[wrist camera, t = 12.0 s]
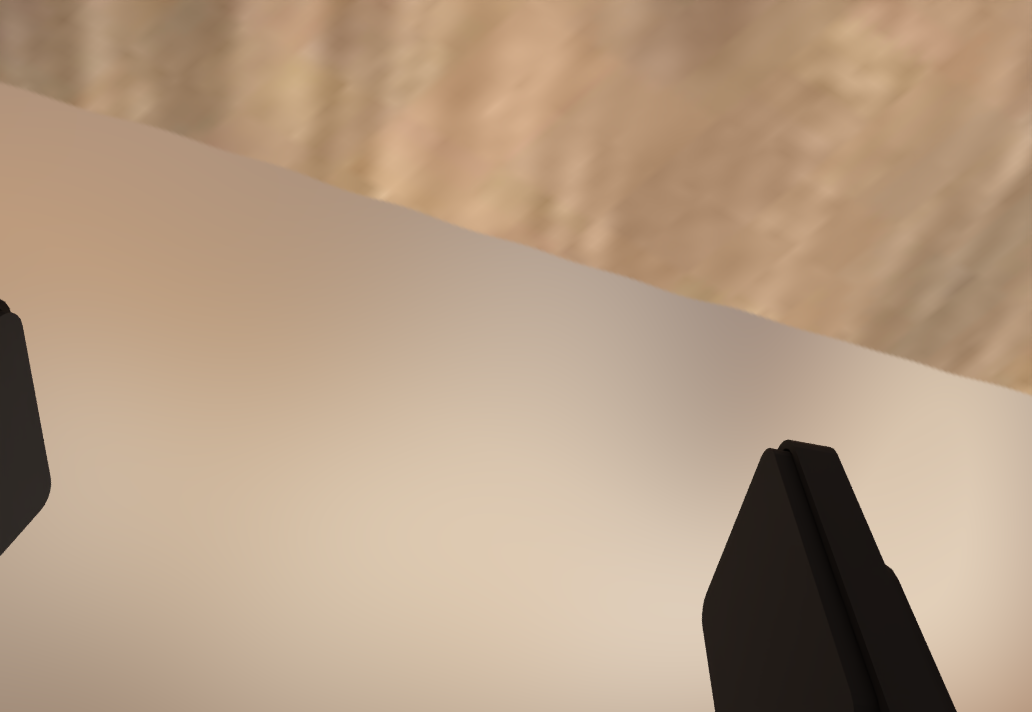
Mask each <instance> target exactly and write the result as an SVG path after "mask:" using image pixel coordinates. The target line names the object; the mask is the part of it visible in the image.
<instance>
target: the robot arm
mask: <svg viewBox="0 0 1032 712" xmlns="http://www.w3.org/2000/svg"><path fill="white" fill-rule="evenodd" d="M50 488H51V478H50V472H49V467H48V461H47V456H46V450H45V445H44V439H43V434H42V428H41V423H40V417H39V412H38V407H37V401H36V396H35V390H34V385H33V379H32V374H31V369H30V364H29V358H28V353H27V347H26V342H25V336H24V330H23V325H22V322H21V319H20V318H19V317H18V316H17V315H16V314H14V313H11V312H10V308H9V307H8V305H7V304H6V303H5V302H4V301H2V300H1V299H0V555H1V554H2V553H3V552H4V551H5V550H6V549H7V548H8V547H9V546H10V544H11V543H12V542H13V541H14V540H15V539H16V538H17V536H18V535H19V534H20V533H21V532H22V531H23V530H24V529H25V527H26V526H27V525H28V524H29V523H30V522H31V521H32V520H33V518H34V517H35V516H36V515H37V514H38V513H39V512H40V510H41V509H42V508H43V506H44V505H45V503H46V501H47V499H48V496H49V493H50ZM702 626H703V633H704V640H705V646H706V653H707V659H708V667H709V673H710V680H711V687H712V693H713V700H714V707H715V712H957V711H956V709H955V707H954V705H953V702H952V700H951V698H950V695H949V693H948V691H947V689H946V687H945V684H944V682H943V680H942V677H941V676H940V673H939V671H938V668H937V666H936V664H935V662H934V659H933V657H932V655H931V652H930V650H929V648H928V646H927V643H926V641H925V639H924V637H923V634H922V632H921V630H920V628H919V625H918V623H917V621H916V618H915V616H914V614H913V612H912V609H911V607H910V605H909V603H908V600H907V598H906V596H905V594H904V591H903V589H902V587H901V584H900V582H899V580H898V578H897V577H896V575H895V573H894V572H893V570H892V569H891V568H889V567H888V566H887V565H885V563H884V561H883V559H882V556H881V554H880V552H879V549H878V547H877V545H876V542H875V540H874V538H873V535H872V533H871V531H870V528H869V526H868V524H867V521H866V519H865V517H864V515H863V512H862V510H861V508H860V505H859V503H858V501H857V498H856V496H855V494H854V491H853V489H852V487H851V485H850V482H849V480H848V478H847V475H846V473H845V471H844V468H843V466H842V464H841V461H840V459H839V457H838V454H837V453H836V451H835V450H834V449H833V448H831V447H827V446H821V445H815V444H809V443H804V442H799V441H793V440H785V441H783V442H782V444H781V445H780V446H779V448H778V449H772V448H768V449H766V450H765V451H764V453H763V455H762V457H761V459H760V462H759V464H758V467H757V469H756V471H755V474H754V476H753V479H752V482H751V484H750V486H749V489H748V491H747V494H746V496H745V499H744V501H743V504H742V506H741V509H740V511H739V514H738V516H737V519H736V521H735V524H734V526H733V529H732V531H731V534H730V536H729V539H728V541H727V543H726V546H725V549H724V551H723V554H722V556H721V559H720V561H719V564H718V566H717V568H716V571H715V573H714V576H713V579H712V581H711V583H710V586H709V588H708V591H707V593H706V596H705V599H704V604H703V612H702Z"/></svg>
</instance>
